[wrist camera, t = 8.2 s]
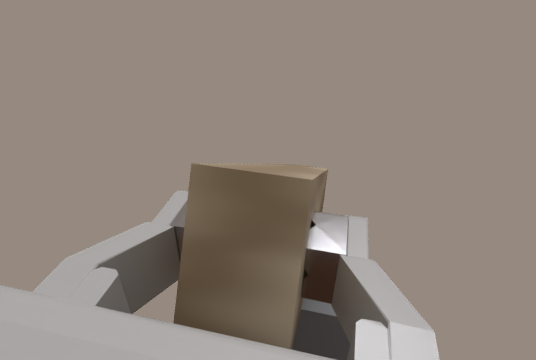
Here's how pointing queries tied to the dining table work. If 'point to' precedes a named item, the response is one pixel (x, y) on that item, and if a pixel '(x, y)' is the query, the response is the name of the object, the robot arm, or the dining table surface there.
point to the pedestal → (320, 331)
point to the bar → (247, 249)
